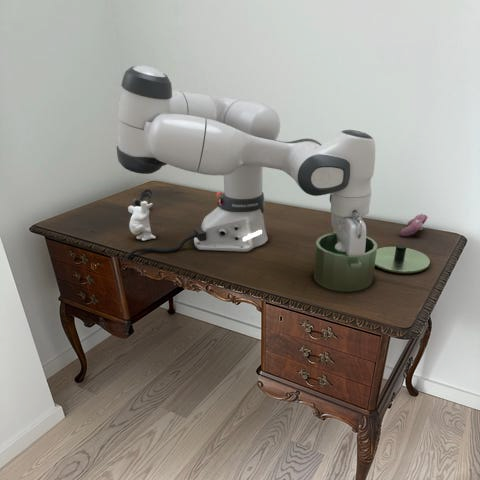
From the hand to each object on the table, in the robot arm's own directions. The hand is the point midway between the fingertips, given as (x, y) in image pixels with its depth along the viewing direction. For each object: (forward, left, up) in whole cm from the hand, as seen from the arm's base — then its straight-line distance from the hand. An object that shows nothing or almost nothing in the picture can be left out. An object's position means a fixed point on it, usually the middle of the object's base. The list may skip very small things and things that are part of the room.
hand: (344, 258), depth 116 cm
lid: (+17, +8, -5) cm, 19 cm away
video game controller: (+28, +28, -6) cm, 40 cm away
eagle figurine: (-59, +60, -6) cm, 84 cm away
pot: (0, 0, -6) cm, 6 cm away
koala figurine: (-55, +32, -6) cm, 64 cm away
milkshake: (0, 0, -5) cm, 5 cm away
